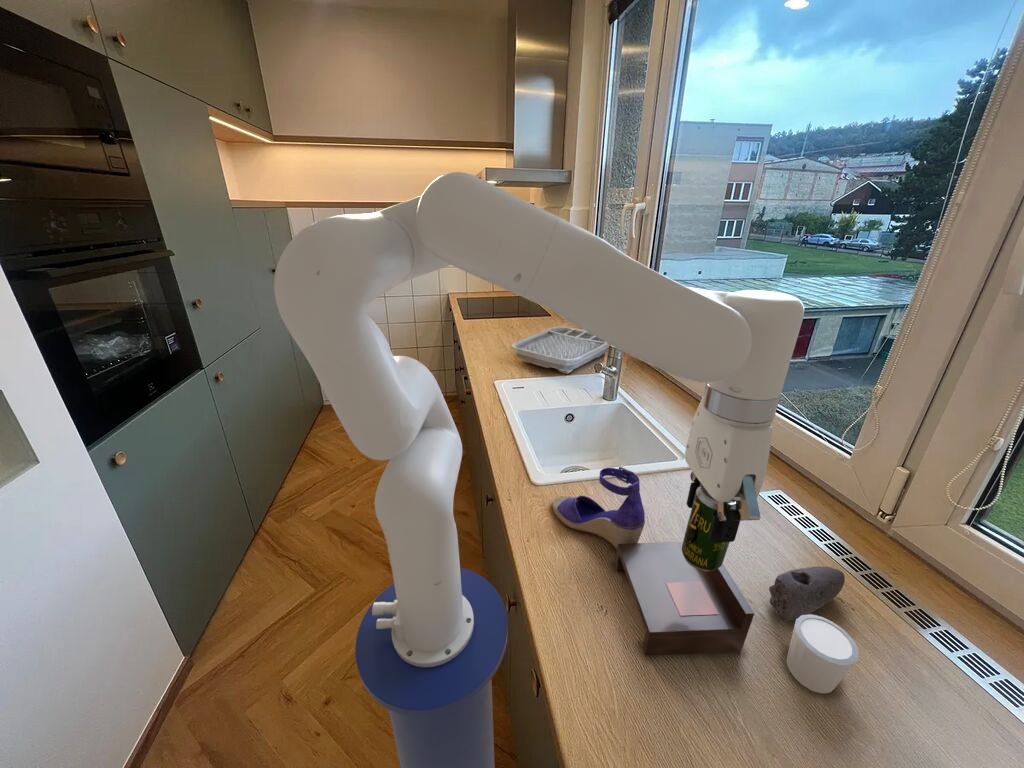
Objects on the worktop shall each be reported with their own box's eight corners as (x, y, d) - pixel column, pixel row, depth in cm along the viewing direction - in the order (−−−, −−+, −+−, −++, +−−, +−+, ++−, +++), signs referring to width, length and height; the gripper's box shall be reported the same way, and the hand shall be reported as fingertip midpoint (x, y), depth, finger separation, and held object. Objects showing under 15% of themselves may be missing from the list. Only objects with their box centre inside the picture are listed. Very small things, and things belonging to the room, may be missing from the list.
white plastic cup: (779, 638, 60) (792, 605, 58) (836, 660, 58) (853, 627, 55) (782, 682, 55) (797, 648, 52) (845, 709, 52) (865, 675, 49)
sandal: (574, 493, 91) (579, 435, 84) (646, 552, 75) (658, 486, 69) (545, 507, 86) (548, 447, 80) (614, 572, 71) (624, 504, 65)
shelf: (645, 656, 58) (652, 617, 55) (614, 564, 73) (619, 530, 70) (741, 651, 59) (754, 613, 55) (692, 562, 73) (700, 527, 70)
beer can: (693, 536, 61) (710, 472, 56) (729, 560, 57) (751, 493, 52) (673, 555, 58) (689, 488, 53) (709, 581, 54) (731, 512, 49)
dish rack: (504, 362, 166) (504, 343, 162) (556, 340, 191) (557, 324, 188) (570, 382, 147) (572, 361, 144) (618, 355, 172) (620, 337, 169)
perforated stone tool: (821, 579, 70) (834, 548, 67) (852, 605, 65) (868, 573, 63) (752, 603, 66) (763, 571, 63) (781, 633, 61) (794, 600, 58)
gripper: (676, 373, 55) (657, 483, 62) (749, 441, 39) (712, 577, 47) (731, 372, 55) (706, 481, 62) (825, 439, 39) (776, 575, 47)
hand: (709, 521), depth 54 cm, fingers closed on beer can, 5 cm apart
